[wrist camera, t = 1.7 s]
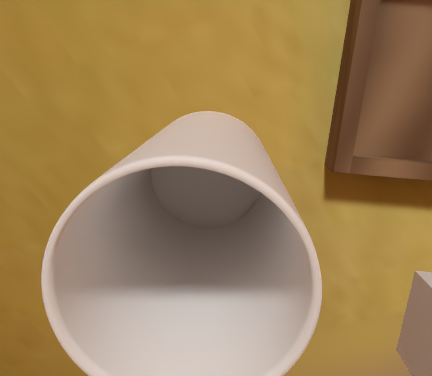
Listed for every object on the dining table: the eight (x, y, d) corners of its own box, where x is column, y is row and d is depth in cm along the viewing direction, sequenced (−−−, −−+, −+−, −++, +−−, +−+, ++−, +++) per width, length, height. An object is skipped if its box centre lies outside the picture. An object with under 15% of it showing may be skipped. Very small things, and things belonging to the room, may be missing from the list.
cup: (141, 218, 28) (34, 390, 12) (155, 101, 26) (45, 134, 10) (256, 237, 28) (290, 430, 13) (279, 122, 26) (355, 184, 10)
